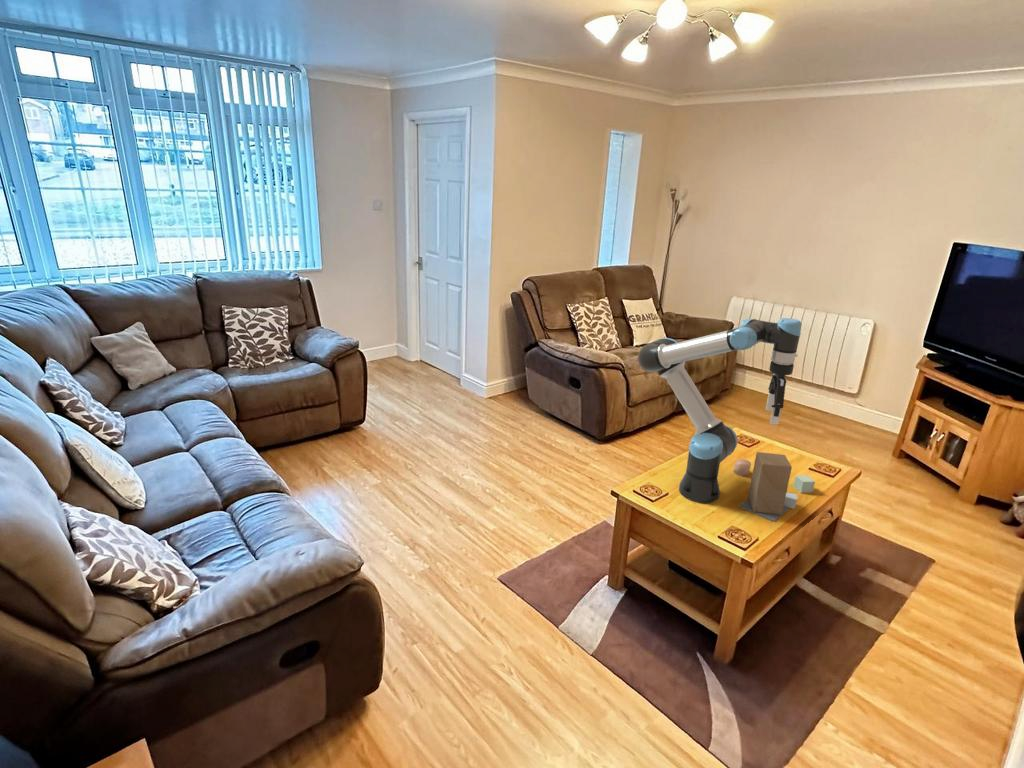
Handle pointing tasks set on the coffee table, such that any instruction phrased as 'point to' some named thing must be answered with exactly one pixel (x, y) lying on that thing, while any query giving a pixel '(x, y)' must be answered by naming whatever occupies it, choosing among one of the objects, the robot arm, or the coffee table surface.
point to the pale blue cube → (790, 500)
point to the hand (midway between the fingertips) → (771, 417)
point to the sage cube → (804, 484)
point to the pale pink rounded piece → (742, 467)
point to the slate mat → (771, 517)
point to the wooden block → (769, 483)
